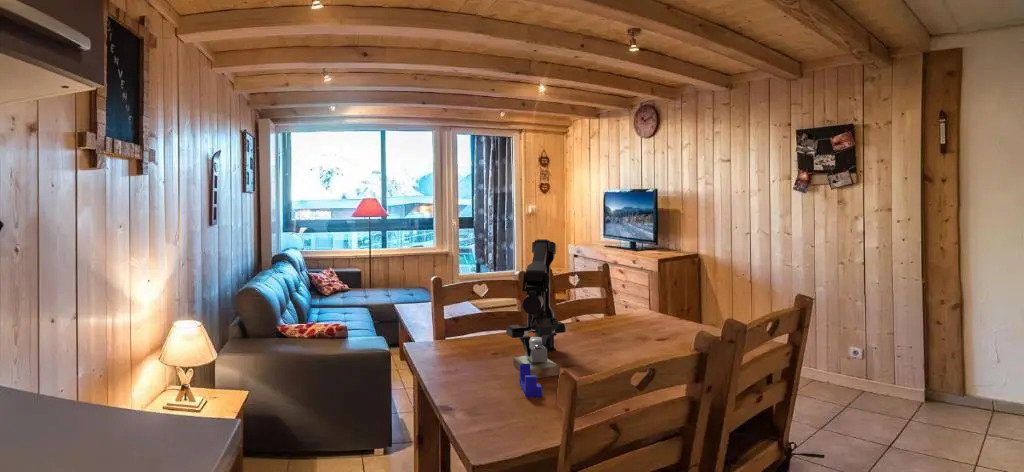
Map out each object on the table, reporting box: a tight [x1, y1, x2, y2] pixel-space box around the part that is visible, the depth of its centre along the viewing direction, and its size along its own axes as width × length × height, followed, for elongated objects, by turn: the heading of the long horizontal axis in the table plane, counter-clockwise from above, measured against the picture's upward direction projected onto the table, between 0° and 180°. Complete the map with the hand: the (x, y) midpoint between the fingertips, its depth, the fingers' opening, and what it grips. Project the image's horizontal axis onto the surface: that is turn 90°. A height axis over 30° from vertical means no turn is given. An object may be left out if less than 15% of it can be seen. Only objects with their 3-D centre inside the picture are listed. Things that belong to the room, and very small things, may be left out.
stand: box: [513, 355, 561, 379], centre depth 173 cm, size 10×14×3 cm
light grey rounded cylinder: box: [529, 336, 542, 344], centre depth 184 cm, size 6×6×7 cm
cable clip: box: [519, 364, 543, 398], centre depth 155 cm, size 12×4×6 cm, turn 8°
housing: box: [524, 342, 548, 363], centre depth 172 cm, size 5×8×5 cm, turn 14°
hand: (536, 355), depth 172 cm, fingers closed on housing, 5 cm apart
